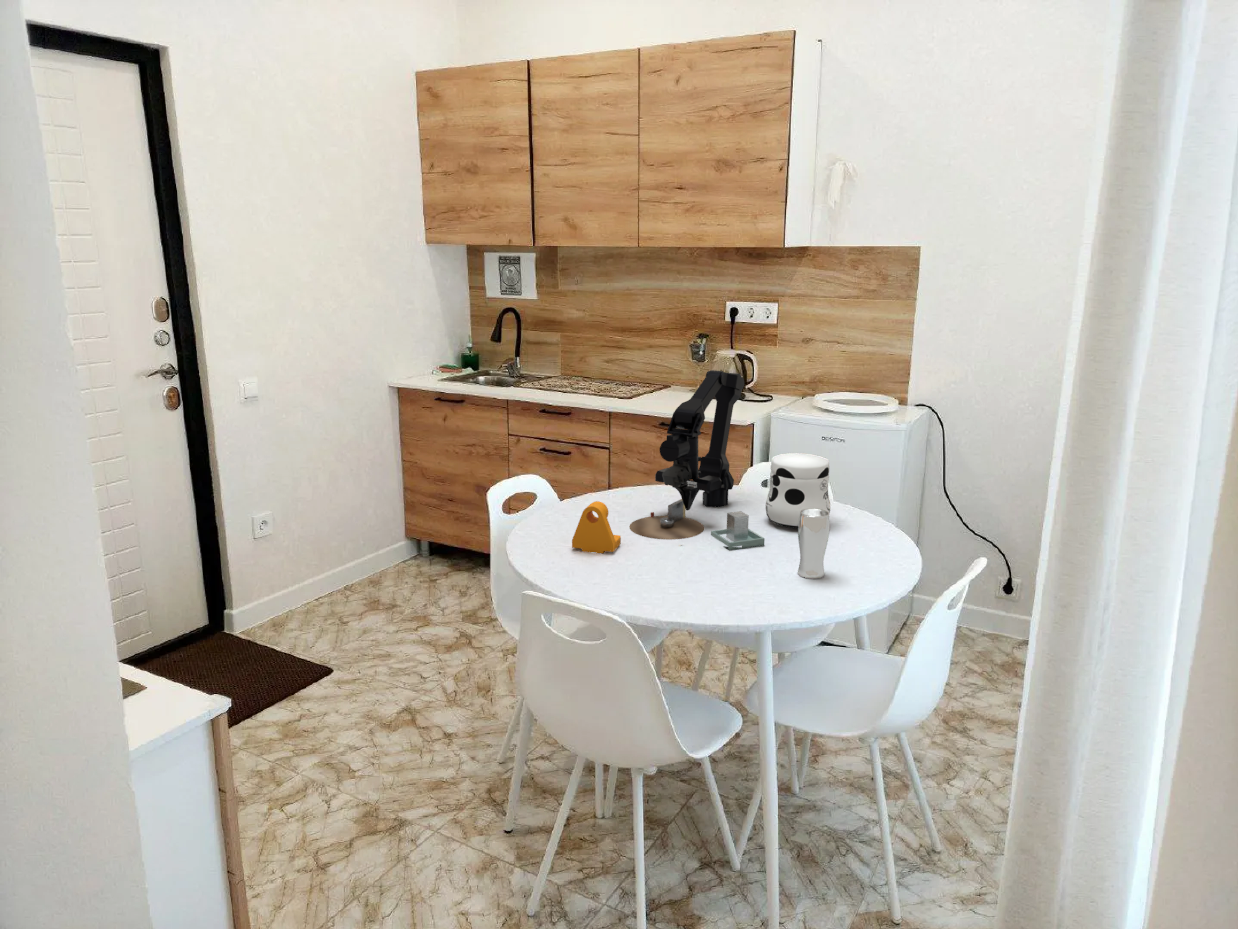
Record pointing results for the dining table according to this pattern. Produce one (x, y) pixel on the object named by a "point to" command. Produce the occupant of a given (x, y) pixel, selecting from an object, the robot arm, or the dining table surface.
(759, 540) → the tray
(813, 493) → the milk container
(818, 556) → the beer glass
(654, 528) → the base
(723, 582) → the dining table surface
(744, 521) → the block
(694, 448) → the robot arm
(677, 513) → the crank
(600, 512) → the bracket
